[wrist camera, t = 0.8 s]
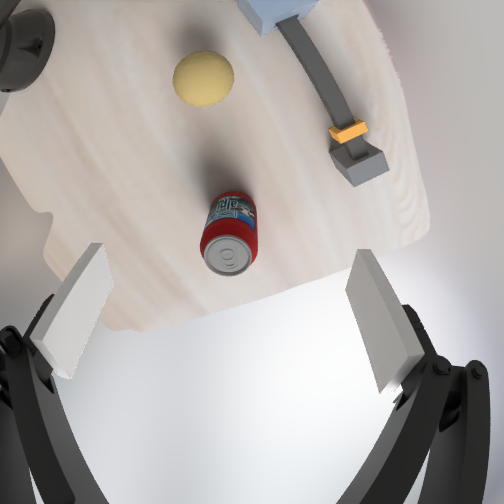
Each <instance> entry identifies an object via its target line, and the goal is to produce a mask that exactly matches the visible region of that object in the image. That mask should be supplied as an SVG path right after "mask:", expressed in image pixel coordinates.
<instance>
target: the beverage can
mask: <svg viewBox="0 0 504 504" xmlns="http://www.w3.org/2000/svg"><path fill="white" fill-rule="evenodd" d="M200 252H201V255H202V257H203V259H204V260H205V263H206V265H207V266H208V268H209V269H210V270H212V271H213V272H215V273H216V274H219V275H222V276H236V275H239V274H241V273H243V272H244V271H245V270H247V268H248V267H249V266H250V265H251V264H252V263H253V261H254V260H255V258H256V256H257V252H258V233H257V212H256V207H255V205H254V203H253V201H252V200H251V199H250V198H249V197H248V196H246V195H244V194H242V193H238V192H228V193H224V194H222V195H220V196H219V197H217V198H216V199H215V201H214V202H213V204H212V206H211V209H210V212H209V215H208V218H207V221H206V224H205V228H204V231H203V235H202V238H201V242H200Z"/></svg>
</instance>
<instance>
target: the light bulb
mask: <svg viewBox="0 0 504 504" xmlns="http://www.w3.org/2000/svg"><path fill="white" fill-rule="evenodd" d="M233 81H234V73H233V69H232V66H231V64H230V63H229V61H228V60H227V59H226V58H225V57H223V56H222V55H220V54H218V53H215V52H211V51H200V52H195V53H192V54H190V55H188V56H186V57H185V58H184V59H182V60H181V61H180V62H179V64H178V65H177V67H176V68H175V71H174V75H173V85H174V89H175V91H176V93H177V95H178V96H179V98H180V99H181V100H183V101H184V102H186V103H188V104H189V105H193V106H200V107H203V106H210V105H214V104H216V103H218V102H220V101H221V100H223V99H224V98H225V97H226V96H227V95H228V94H229V92H230V90H231V88H232V86H233Z"/></svg>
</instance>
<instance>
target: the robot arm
mask: <svg viewBox="0 0 504 504" xmlns="http://www.w3.org/2000/svg"><path fill="white" fill-rule="evenodd" d="M20 1H21V0H0V91H2V92H6V93H10V92H15V91H20V90H23V89H25V88H26V87H28V86H29V85H31V84H32V83H33V82H34V81H35V80H36V79H37V77H38V76H39V75H40V73H41V72H42V70H43V69H44V67H45V65H46V63H47V61H48V59H49V56H50V54H51V51H52V47H53V43H54V37H55V27H54V22H53V19H52V17H51V16H50V14H49V13H47V12H46V11H42V10H35V9H31V10H26V11H24V12H21V13H17V14H14V15H11V14H12V12H13V11H14V9H15V8H16V6H17V5H18V3H19V2H20ZM10 15H11V16H10ZM114 285H115V281H114V278H113V275H112V272H111V269H110V266H109V262H108V259H107V256H106V252H105V249H104V245H103V243H91V244H90V245H89V247H88V248H87V249H86V251H85V252H84V253H83V255H82V256H81V257H80V259H79V260H78V262H77V263H76V264H75V266H74V267H73V269H72V270H71V271H70V273H69V274H68V276H67V277H66V279H65V280H64V282H63V283H62V285H61V286H60V288H59V289H58V291H57V292H56V294H52V295H50V296H49V297H48V298H47V299H46V300H45V301H44V303H43V304H42V306H41V307H40V310H38V312H37V314H36V317H34V319H33V320H32V322H31V324H30V325H29V327H28V329H27V331H26V332H25V334H24V336H23V337H22V336H21V334H20V333H19V331H18V330H17V329H16V328H15V327H14V326H6V327H5V328H3V329H2V330H1V331H0V385H1V387H0V504H37V503H36V499H35V495H34V491H33V487H32V482H31V477H30V472H29V468H30V471H31V474H32V476H33V479H34V481H35V484H36V486H37V489H38V490H39V493H40V495H41V498H42V500H43V502H44V504H109V503H108V501H107V500H106V498H105V497H104V495H103V493H102V491H101V490H100V488H99V486H98V484H97V483H96V481H95V480H94V477H93V475H92V473H91V472H90V470H89V468H88V466H87V464H86V462H85V460H84V458H83V456H82V453H81V451H80V449H79V447H78V445H77V442H76V440H75V438H74V436H73V433H72V430H71V428H70V425H69V423H68V420H67V418H66V415H65V412H64V409H63V406H62V404H61V401H60V398H59V395H58V391H57V388H56V385H55V381H54V378H53V377H52V375H51V373H52V370H54V371H55V372H56V373H57V374H58V376H60V377H63V378H67V379H70V380H72V377H73V375H74V372H75V370H76V367H77V365H78V362H79V360H80V357H81V355H82V353H83V350H84V348H85V346H86V343H87V341H88V339H89V336H90V334H91V332H92V330H93V328H94V325H95V323H96V321H97V319H98V317H99V315H100V313H101V311H102V309H103V307H104V304H105V302H106V300H107V298H108V296H109V294H110V293H111V291H112V289H113V287H114ZM345 291H346V293H347V296H348V299H349V302H350V304H351V307H352V310H353V313H354V315H355V318H356V321H357V324H358V327H359V329H360V333H361V335H362V339H363V341H364V344H365V347H366V351H367V354H368V356H369V360H370V363H371V366H372V370H373V372H374V376H375V380H376V383H377V386H378V390H379V393H380V394H382V393H387V392H392V391H395V390H396V389H397V388H398V387H399V385H400V384H401V386H402V389H403V391H402V392H401V393H400V394H399V395H398V397H397V398H396V399H395V400H394V401H393V403H395V402H396V401H397V402H396V405H395V407H394V409H393V411H392V413H391V415H390V417H389V419H388V421H387V423H386V425H385V427H384V429H383V431H382V433H381V434H380V436H379V438H378V440H377V442H376V444H375V445H374V447H373V449H372V451H371V452H370V454H369V456H368V457H367V459H366V461H365V462H364V464H363V465H362V467H361V469H360V470H359V472H358V473H357V475H356V476H355V478H354V479H353V481H352V482H351V484H350V485H349V487H348V488H347V489H346V491H345V492H344V494H343V495H342V496H341V498H340V499H339V500H338V502H337V503H336V504H403V503H404V501H405V499H406V497H407V495H408V494H409V492H410V490H411V488H412V486H413V484H414V482H415V480H416V478H417V476H418V474H419V472H420V470H421V467H422V465H423V463H424V461H425V458H426V456H427V454H428V451H429V449H430V453H429V458H428V463H427V469H426V473H425V478H424V482H423V486H422V489H421V493H420V497H419V500H418V504H482V500H483V495H484V490H485V483H486V477H487V469H488V459H489V446H490V392H489V378H488V372H487V369H486V367H485V366H484V365H483V364H482V363H481V362H480V361H477V360H472V361H470V362H469V363H468V364H467V365H466V366H465V367H461V366H452V365H451V363H450V362H449V361H448V360H447V359H446V358H444V357H443V356H439V355H437V353H436V351H435V349H434V347H433V345H432V343H431V340H430V338H429V336H428V334H427V332H426V330H425V329H424V326H423V324H422V323H421V322H420V319H419V317H418V315H417V313H416V312H415V311H414V309H413V308H412V307H411V306H410V305H408V304H407V305H401V303H400V301H399V299H398V297H397V296H396V294H395V292H394V290H393V288H392V286H391V284H390V283H389V281H388V279H387V277H386V276H385V274H384V272H383V270H382V269H381V267H380V265H379V263H378V262H377V260H376V258H375V256H374V255H373V253H372V251H371V250H370V249H357V252H356V256H355V259H354V263H353V266H352V270H351V273H350V277H349V279H348V283H347V286H346V289H345ZM430 446H431V447H430Z"/></svg>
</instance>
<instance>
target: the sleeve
mask: <svg viewBox="0 0 504 504" xmlns="http://www.w3.org/2000/svg"><path fill="white" fill-rule="evenodd" d="M237 1H238V6H239V8H240V9H241V11H242V12H243V13H244V15H245V16H246V17H247V19H248V20H249V21H250V23H251V24H252V25H253V27H254V28H255V30H256V31H257V32H258V34H259V35H260V37H261V36H263V35H266V34H268V33H270V32H272V31H274V30H277V29H278V27H277V26H276V24H275V23H277V22H279V21H282V20H284V19H287V18H289V17H292V16H294V15H295V16H296V18H297V19H298V20H301V19H304V18H305V17H306V16H307V15H308V14H309V12H310V11H311V10H312V9H313V8H314V6H315V5H316V4H317V3H318V2H319V0H237Z"/></svg>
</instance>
